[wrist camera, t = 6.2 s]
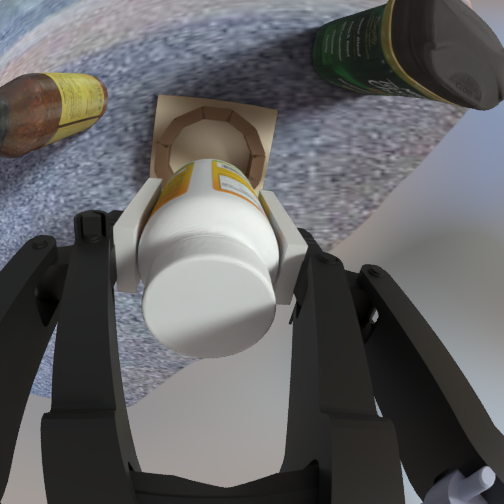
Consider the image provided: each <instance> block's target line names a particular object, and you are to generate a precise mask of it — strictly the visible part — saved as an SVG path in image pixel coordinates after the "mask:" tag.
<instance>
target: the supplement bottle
mask: <svg viewBox="0 0 504 504" xmlns="http://www.w3.org/2000/svg"><path fill="white" fill-rule="evenodd" d="M137 262H138V269H139V274H140V277H141V280H142V282H143V284H144V286H145V287H144V292H143V296H142V314H143V318H144V320H145V323H146V325H147V327H148V329H149V331H150V332H151V333H152V335H153V336H154V337H155V338H156V339H157V340H158V341H160V342H161V343H162V344H163V345H165V346H166V347H168V348H170V349H172V350H174V351H176V352H178V353H181V354H184V355H188V356H192V357H197V358H219V357H226V356H230V355H234V354H236V353H239V352H242V351H244V350H246V349H247V348H249V347H251V346H252V345H254V344H255V343H257V342H258V341H259V340H260V339H261V338H262V337H263V336H264V335H265V334H266V333H267V331H268V330H269V328H270V327H271V325H272V322H273V320H274V317H275V312H276V298H275V294H274V290H273V287H272V286H273V284H274V282H275V279H276V276H277V273H278V268H279V248H278V244H277V240H276V237H275V234H274V232H273V229H272V227H271V225H270V223H269V221H268V219H267V217H266V215H265V212H264V210H263V208H262V206H261V204H260V202H259V200H258V198H257V196H256V194H255V191H254V189H253V188H252V186H251V184H250V182H249V181H248V179H247V178H246V176H245V175H244V174H243V173H242V172H241V171H240V170H239V169H237V168H236V167H235V166H233V165H231V164H229V163H227V162H224V161H221V160H216V159H201V160H196V161H193V162H190V163H188V164H186V165H184V166H183V167H181V168H180V169H178V170H177V171H176V172H175V173H174V174H173V175H172V176H171V177H170V179H169V180H168V182H167V183H166V185H165V187H164V189H163V191H162V193H161V195H160V197H159V199H158V201H157V203H156V205H155V207H154V209H153V211H152V213H151V215H150V217H149V219H148V221H147V223H146V225H145V228H144V230H143V233H142V235H141V238H140V242H139V246H138V252H137Z"/></svg>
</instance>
